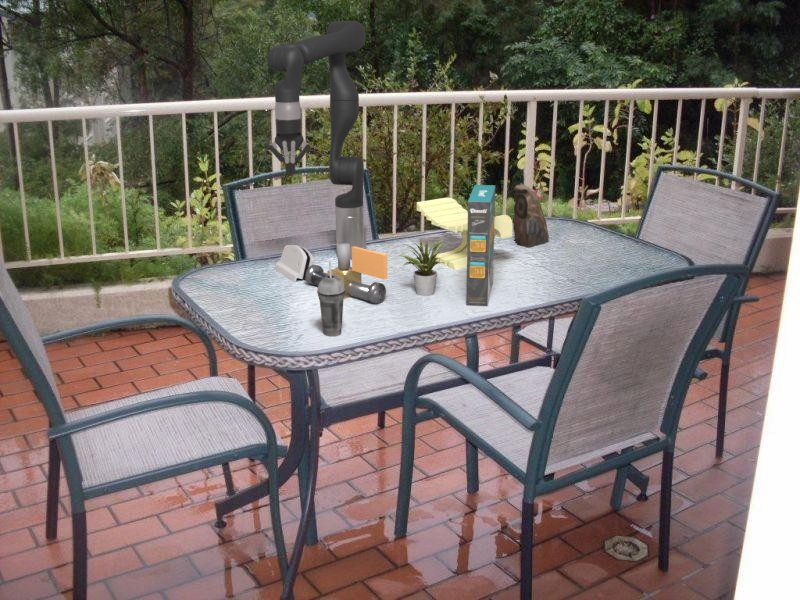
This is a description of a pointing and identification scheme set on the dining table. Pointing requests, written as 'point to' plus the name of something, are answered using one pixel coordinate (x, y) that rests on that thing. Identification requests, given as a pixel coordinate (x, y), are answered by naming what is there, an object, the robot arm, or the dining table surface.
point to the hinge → (294, 262)
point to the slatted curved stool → (457, 227)
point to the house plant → (424, 268)
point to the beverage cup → (331, 303)
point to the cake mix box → (480, 245)
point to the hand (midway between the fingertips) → (290, 175)
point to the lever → (362, 260)
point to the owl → (528, 218)
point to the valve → (349, 283)
